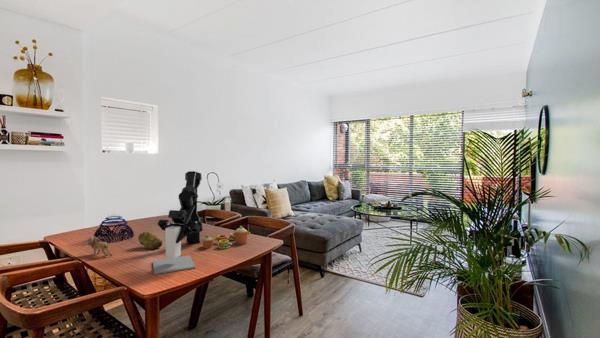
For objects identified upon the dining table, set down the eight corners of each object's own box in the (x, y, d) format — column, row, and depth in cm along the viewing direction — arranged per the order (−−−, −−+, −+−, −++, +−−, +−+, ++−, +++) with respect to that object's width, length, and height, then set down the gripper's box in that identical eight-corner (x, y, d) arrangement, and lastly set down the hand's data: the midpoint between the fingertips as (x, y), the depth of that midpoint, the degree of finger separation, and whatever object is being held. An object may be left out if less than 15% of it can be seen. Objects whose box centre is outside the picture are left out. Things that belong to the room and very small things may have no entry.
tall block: (171, 254, 136) (171, 225, 135) (181, 255, 135) (180, 226, 134) (165, 257, 131) (165, 228, 131) (175, 258, 130) (174, 228, 130)
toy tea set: (235, 237, 181) (235, 221, 180) (253, 242, 171) (253, 225, 170) (197, 247, 160) (197, 229, 160) (214, 253, 151) (214, 234, 150)
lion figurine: (84, 255, 145) (83, 237, 145) (94, 251, 151) (94, 234, 150) (107, 258, 141) (107, 239, 141) (117, 254, 146) (117, 236, 146)
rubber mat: (190, 257, 144) (190, 255, 144) (195, 268, 130) (195, 266, 130) (153, 262, 136) (153, 260, 136) (154, 274, 122) (154, 272, 122)
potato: (148, 251, 151) (148, 236, 151) (135, 247, 158) (135, 232, 158) (164, 247, 158) (164, 232, 158) (151, 243, 165) (151, 229, 165)
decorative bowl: (110, 233, 187) (110, 210, 186) (140, 234, 185) (140, 211, 184) (84, 242, 167) (83, 216, 167) (117, 243, 165) (117, 217, 164)
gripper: (159, 202, 137) (143, 231, 127) (197, 203, 134) (183, 234, 124) (170, 215, 146) (155, 244, 135) (205, 217, 142) (193, 247, 132)
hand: (171, 242), depth 131 cm, fingers closed on tall block, 4 cm apart
